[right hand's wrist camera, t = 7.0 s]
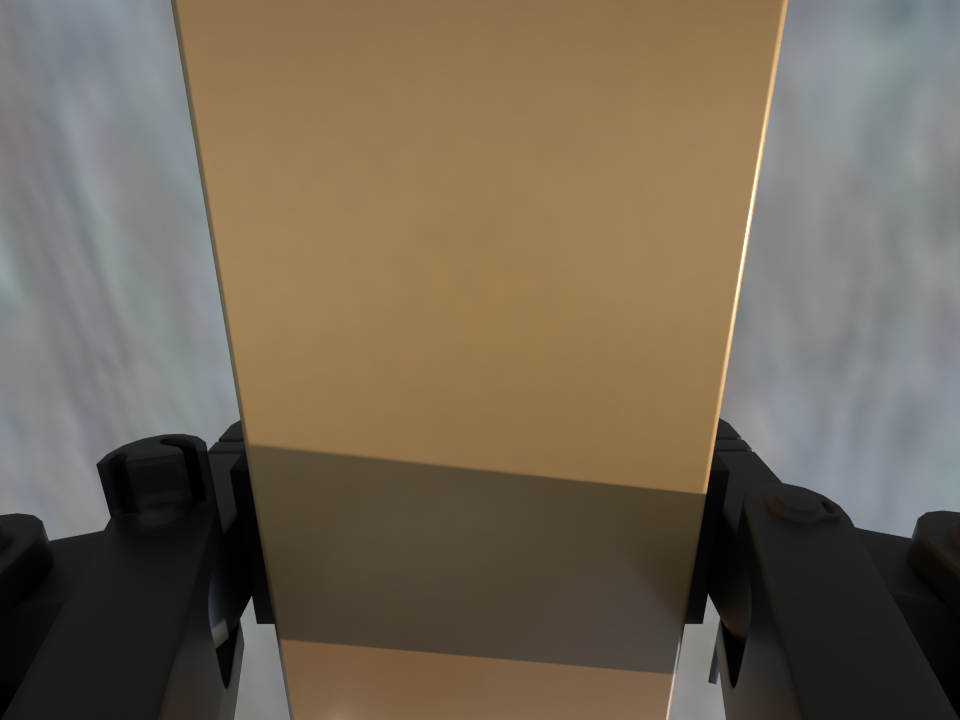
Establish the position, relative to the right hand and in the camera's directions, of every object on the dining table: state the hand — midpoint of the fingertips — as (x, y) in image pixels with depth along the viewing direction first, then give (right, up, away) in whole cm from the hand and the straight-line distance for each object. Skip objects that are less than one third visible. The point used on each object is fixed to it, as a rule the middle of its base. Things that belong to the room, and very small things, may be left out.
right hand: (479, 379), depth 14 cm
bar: (0, +8, -3) cm, 9 cm away
